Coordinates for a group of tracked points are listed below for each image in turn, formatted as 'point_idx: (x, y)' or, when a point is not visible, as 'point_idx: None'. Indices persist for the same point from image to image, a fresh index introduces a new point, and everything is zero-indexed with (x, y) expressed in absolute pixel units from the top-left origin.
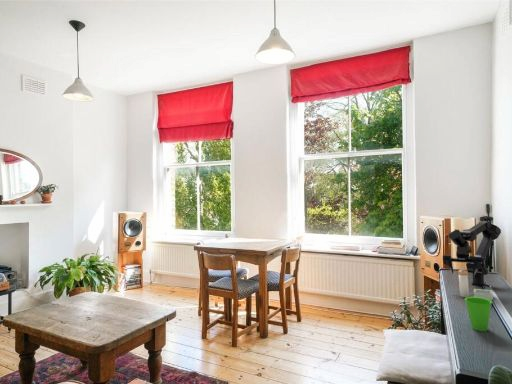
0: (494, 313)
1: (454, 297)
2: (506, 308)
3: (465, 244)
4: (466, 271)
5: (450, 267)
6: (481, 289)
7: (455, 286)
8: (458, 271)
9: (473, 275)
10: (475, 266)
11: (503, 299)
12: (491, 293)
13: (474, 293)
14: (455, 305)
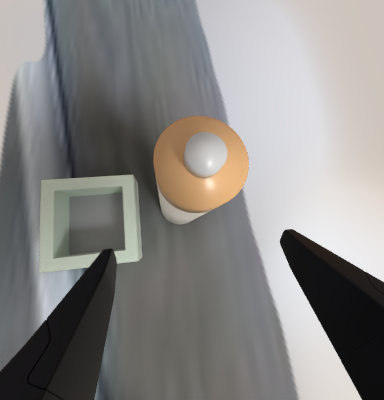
0: (61, 25)
1: None
2: (12, 98)
3: None
4: (161, 134)
5: (355, 267)
6: None
7: (247, 385)
8: (240, 152)
9: (114, 257)
10: (28, 362)
11: (9, 236)
12: (45, 197)
13: (131, 176)
14: (190, 62)
